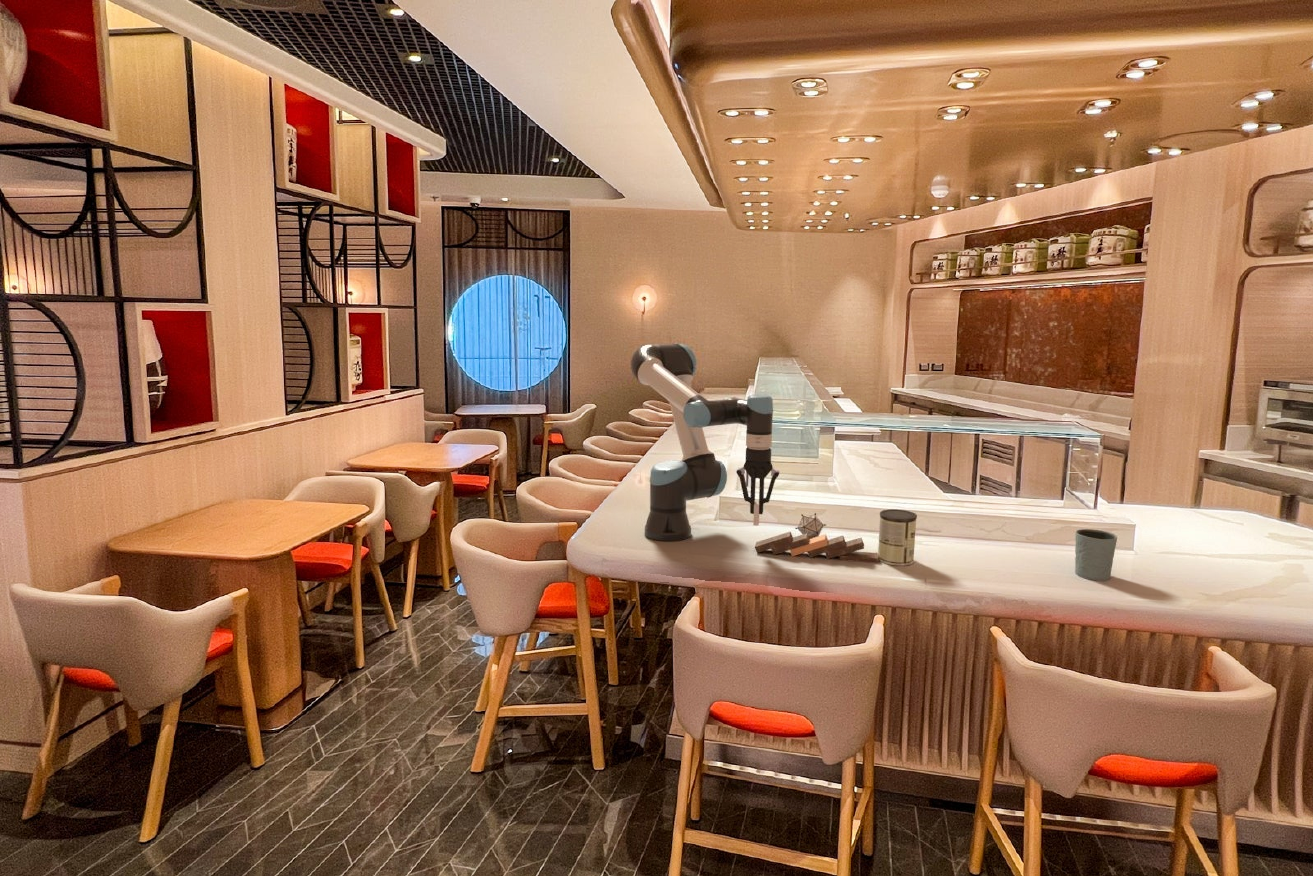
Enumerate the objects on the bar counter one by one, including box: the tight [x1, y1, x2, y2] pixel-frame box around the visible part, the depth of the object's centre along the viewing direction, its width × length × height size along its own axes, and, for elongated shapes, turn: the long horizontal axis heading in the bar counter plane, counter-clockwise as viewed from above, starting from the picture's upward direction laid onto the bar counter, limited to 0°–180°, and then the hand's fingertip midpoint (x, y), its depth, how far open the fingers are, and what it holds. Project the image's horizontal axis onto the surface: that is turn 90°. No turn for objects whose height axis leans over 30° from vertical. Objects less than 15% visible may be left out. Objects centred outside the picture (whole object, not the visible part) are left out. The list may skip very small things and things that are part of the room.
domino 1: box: [754, 531, 794, 554], centre depth 229 cm, size 2×5×11 cm
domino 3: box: [789, 533, 829, 557], centre depth 227 cm, size 2×5×11 cm
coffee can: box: [877, 508, 918, 567], centre depth 222 cm, size 10×10×14 cm
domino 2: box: [770, 533, 810, 556], centre depth 228 cm, size 2×5×11 cm
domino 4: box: [807, 535, 846, 558], centre depth 226 cm, size 2×5×11 cm
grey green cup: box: [1074, 528, 1118, 582], centre depth 212 cm, size 10×10×12 cm
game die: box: [794, 512, 827, 539], centre depth 243 cm, size 9×8×10 cm
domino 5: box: [824, 537, 865, 560], centre depth 225 cm, size 2×5×11 cm
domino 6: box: [838, 551, 880, 564], centre depth 225 cm, size 2×5×11 cm
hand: (756, 524), depth 230 cm, fingers closed
